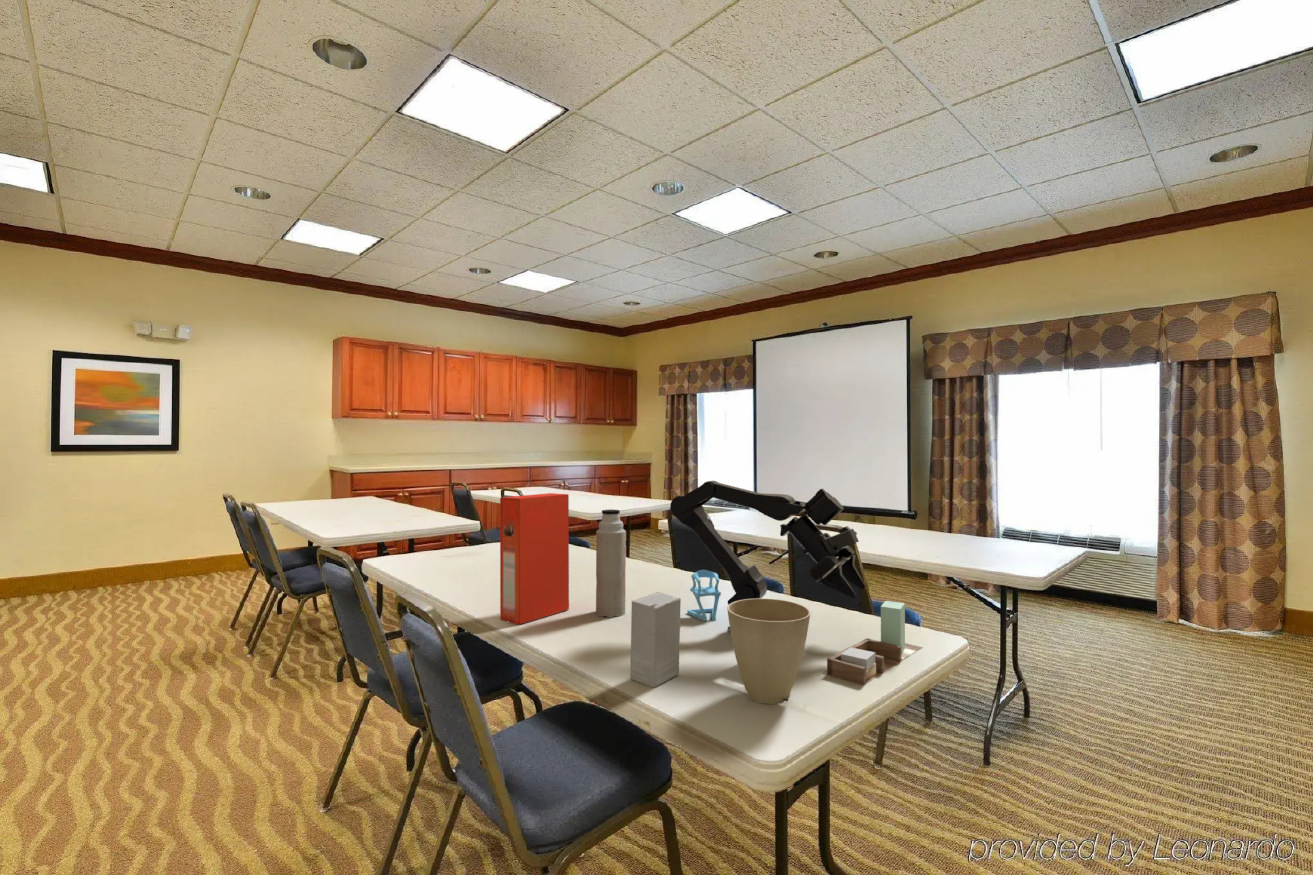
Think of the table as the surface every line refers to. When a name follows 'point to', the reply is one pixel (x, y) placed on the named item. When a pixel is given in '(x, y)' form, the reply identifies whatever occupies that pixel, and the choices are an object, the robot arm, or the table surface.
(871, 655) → the grey offcut slab
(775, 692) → the plant pot
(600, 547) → the thermos bottle
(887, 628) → the mint green block
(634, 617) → the skincare box
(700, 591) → the chair
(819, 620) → the table surface
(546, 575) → the file binder
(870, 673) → the birch offcut slab
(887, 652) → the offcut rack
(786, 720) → the table surface
